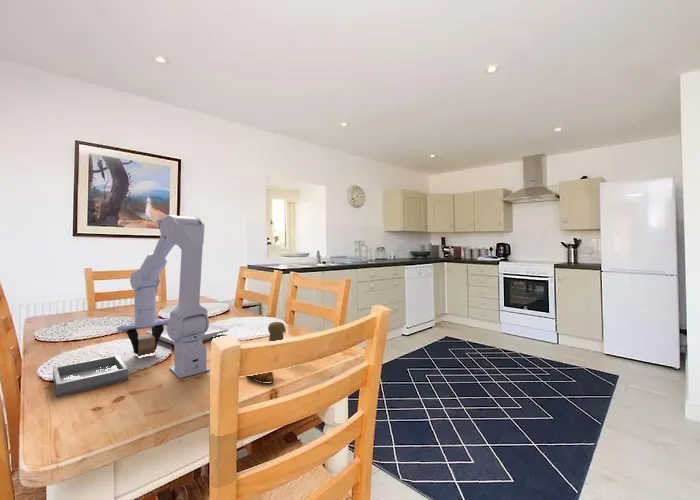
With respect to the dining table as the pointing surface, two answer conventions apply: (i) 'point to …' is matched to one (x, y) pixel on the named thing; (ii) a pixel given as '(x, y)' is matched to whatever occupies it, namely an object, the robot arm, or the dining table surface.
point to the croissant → (263, 377)
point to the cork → (276, 331)
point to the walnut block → (146, 344)
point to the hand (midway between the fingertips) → (145, 350)
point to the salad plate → (167, 339)
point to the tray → (88, 375)
